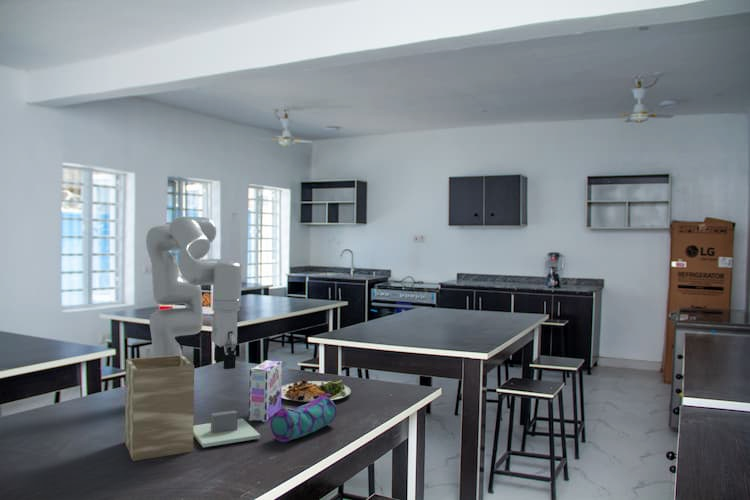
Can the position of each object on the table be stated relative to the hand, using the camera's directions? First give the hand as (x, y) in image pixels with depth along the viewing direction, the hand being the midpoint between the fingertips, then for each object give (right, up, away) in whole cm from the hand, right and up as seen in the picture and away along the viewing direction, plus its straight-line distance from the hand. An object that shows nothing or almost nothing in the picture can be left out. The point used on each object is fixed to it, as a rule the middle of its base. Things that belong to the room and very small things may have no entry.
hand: (224, 364), depth 168 cm
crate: (-16, -21, -9) cm, 27 cm away
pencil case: (+22, -21, +5) cm, 31 cm away
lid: (0, -20, 0) cm, 20 cm away
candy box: (+8, -21, +20) cm, 30 cm away
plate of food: (+20, -20, +44) cm, 53 cm away
